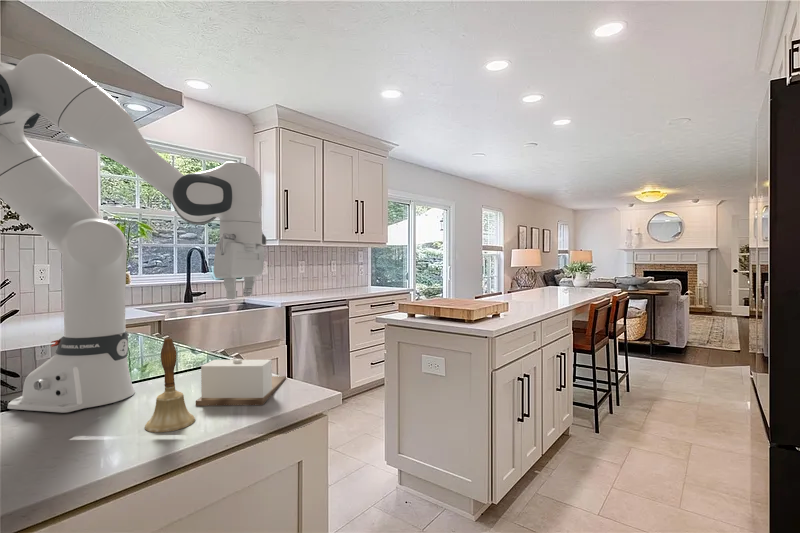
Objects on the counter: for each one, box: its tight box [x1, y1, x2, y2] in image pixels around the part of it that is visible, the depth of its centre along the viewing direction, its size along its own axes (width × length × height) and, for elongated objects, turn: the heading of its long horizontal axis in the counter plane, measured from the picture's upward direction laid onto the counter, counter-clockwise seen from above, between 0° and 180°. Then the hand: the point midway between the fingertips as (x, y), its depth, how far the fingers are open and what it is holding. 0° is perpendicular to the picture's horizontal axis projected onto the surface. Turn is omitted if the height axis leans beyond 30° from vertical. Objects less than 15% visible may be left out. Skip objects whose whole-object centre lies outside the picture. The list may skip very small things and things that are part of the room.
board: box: [195, 375, 287, 407], centre depth 100 cm, size 14×19×1 cm
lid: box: [200, 358, 273, 398], centre depth 94 cm, size 13×6×7 cm, turn 89°
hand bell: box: [144, 337, 196, 433], centre depth 80 cm, size 8×8×16 cm
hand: (240, 297), depth 97 cm, fingers open, 8 cm apart
